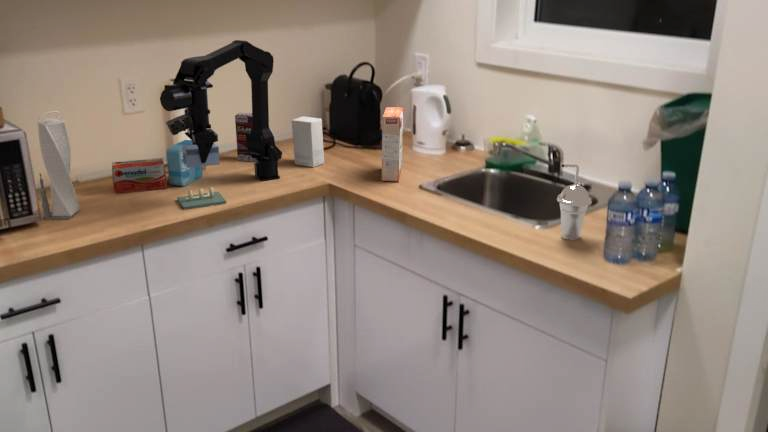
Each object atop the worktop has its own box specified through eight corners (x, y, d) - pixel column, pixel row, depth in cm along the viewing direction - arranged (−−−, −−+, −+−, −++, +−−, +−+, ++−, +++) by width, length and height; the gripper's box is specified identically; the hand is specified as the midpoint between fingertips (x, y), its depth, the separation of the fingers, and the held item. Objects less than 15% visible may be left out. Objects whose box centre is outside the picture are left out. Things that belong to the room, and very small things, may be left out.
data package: (182, 187, 215) (178, 149, 211) (169, 186, 217) (165, 148, 212) (203, 176, 226) (199, 139, 222) (190, 174, 227) (187, 138, 223)
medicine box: (166, 181, 221) (163, 156, 218) (167, 189, 214) (164, 164, 211) (114, 186, 217) (111, 161, 214) (114, 194, 209) (111, 169, 207)
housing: (214, 159, 205) (213, 142, 203) (219, 164, 200) (218, 147, 198) (183, 162, 201) (182, 145, 199) (187, 167, 196) (186, 150, 195)
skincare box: (324, 163, 240) (323, 118, 234) (312, 168, 234) (311, 122, 229) (305, 159, 244) (303, 115, 238) (292, 164, 239) (291, 119, 233)
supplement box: (237, 161, 242) (234, 115, 236) (242, 157, 246) (239, 112, 241) (261, 162, 240) (258, 116, 235) (266, 158, 245) (263, 113, 239)
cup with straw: (592, 242, 178) (601, 166, 170) (557, 243, 177) (564, 166, 170) (580, 229, 185) (589, 156, 178) (547, 230, 185) (554, 156, 178)
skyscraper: (57, 208, 198) (40, 109, 188) (86, 208, 198) (70, 110, 188) (43, 219, 190) (24, 117, 180) (72, 219, 190) (56, 117, 180)
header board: (218, 194, 210) (217, 181, 209) (226, 203, 202) (225, 190, 201) (177, 199, 205) (176, 187, 204) (183, 209, 198) (182, 196, 196)
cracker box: (400, 182, 221) (401, 116, 214) (380, 181, 222) (381, 116, 214) (403, 169, 234) (404, 106, 227) (384, 168, 235) (385, 106, 227)
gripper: (161, 101, 199) (165, 155, 205) (173, 114, 184) (178, 172, 189) (200, 99, 204) (204, 151, 209) (216, 111, 188) (220, 167, 194)
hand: (201, 160), depth 200 cm, fingers closed on housing, 5 cm apart
